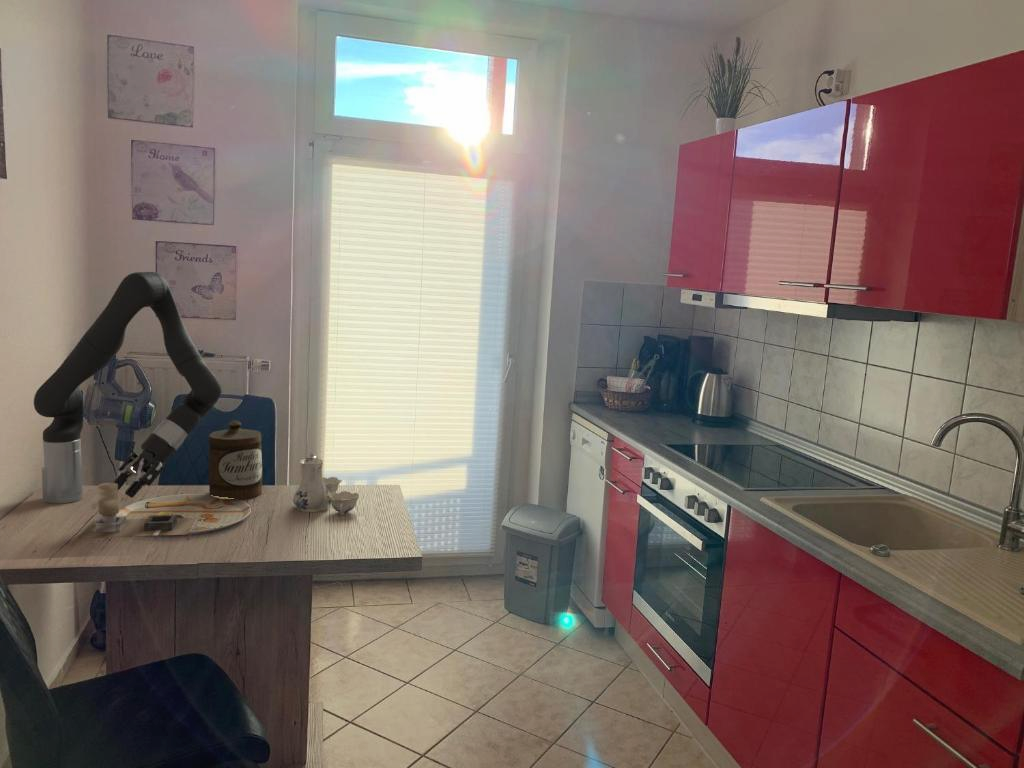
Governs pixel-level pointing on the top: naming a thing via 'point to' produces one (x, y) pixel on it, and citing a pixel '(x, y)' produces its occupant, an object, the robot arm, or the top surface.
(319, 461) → the chinaware
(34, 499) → the top surface
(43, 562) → the top surface
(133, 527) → the subfloor board
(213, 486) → the wooden container
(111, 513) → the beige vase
